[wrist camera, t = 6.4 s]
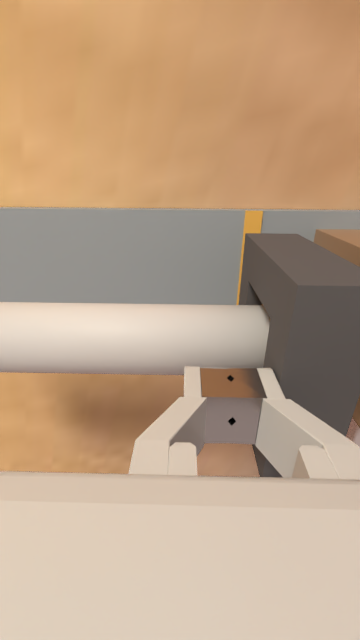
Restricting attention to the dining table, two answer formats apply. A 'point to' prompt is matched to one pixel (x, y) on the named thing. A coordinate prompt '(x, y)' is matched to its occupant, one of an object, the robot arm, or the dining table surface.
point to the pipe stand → (141, 286)
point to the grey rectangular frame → (306, 325)
